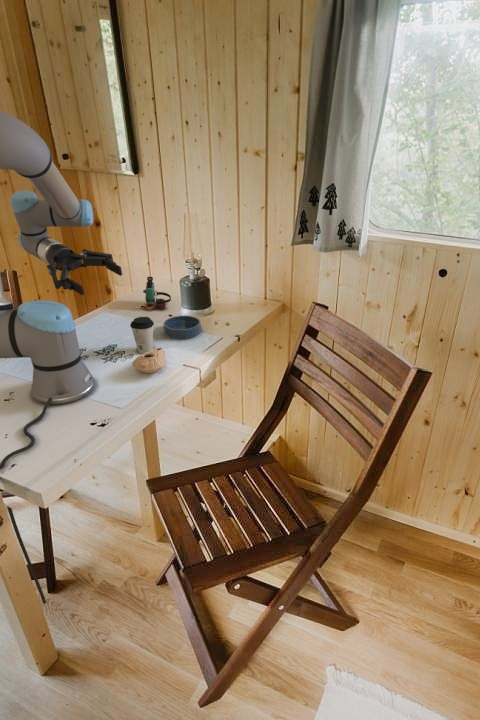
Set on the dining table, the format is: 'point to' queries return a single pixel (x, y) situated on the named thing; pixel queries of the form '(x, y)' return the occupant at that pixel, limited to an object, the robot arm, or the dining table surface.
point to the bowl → (182, 327)
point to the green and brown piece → (151, 296)
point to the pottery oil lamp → (150, 361)
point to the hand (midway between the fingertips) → (101, 280)
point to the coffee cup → (143, 333)
